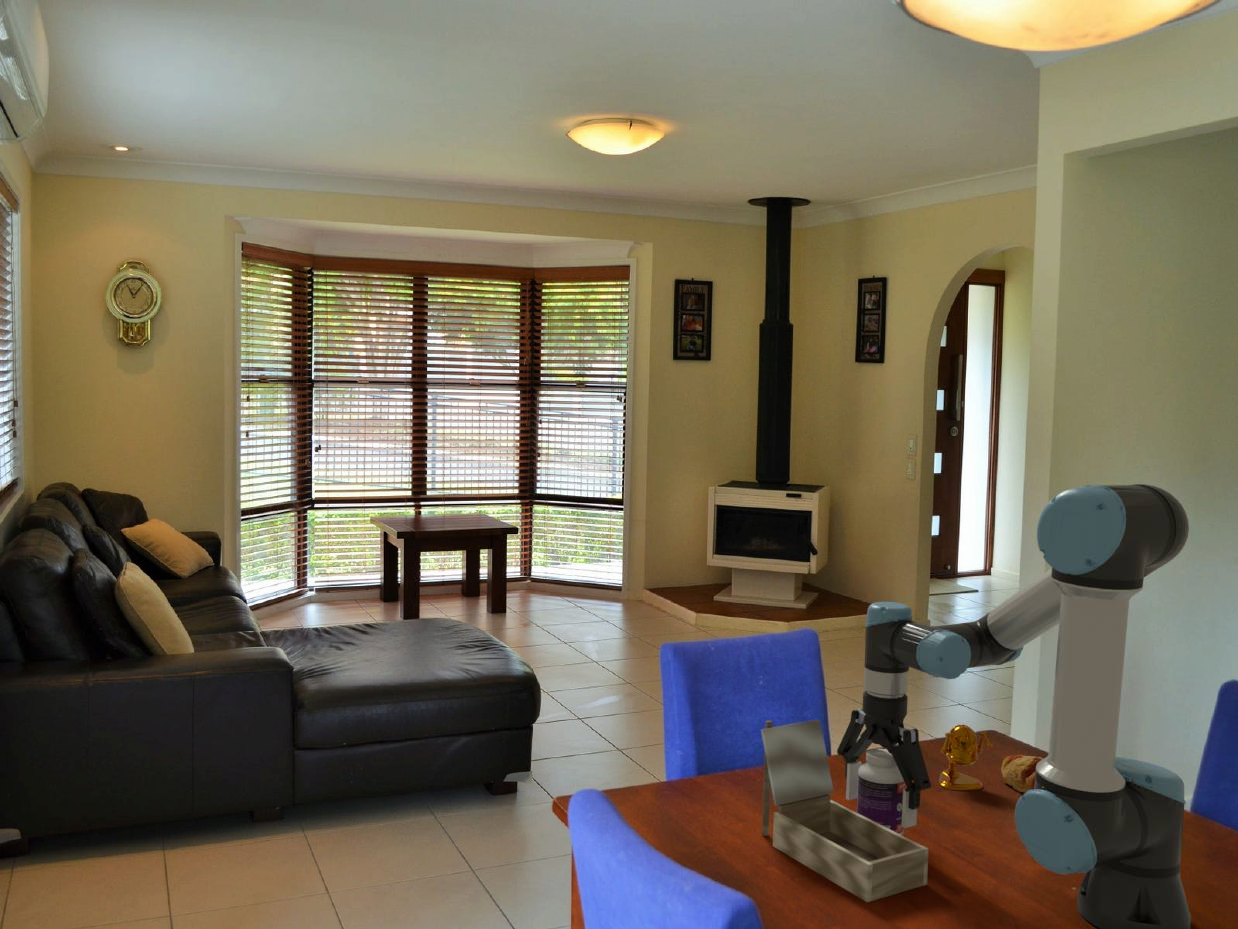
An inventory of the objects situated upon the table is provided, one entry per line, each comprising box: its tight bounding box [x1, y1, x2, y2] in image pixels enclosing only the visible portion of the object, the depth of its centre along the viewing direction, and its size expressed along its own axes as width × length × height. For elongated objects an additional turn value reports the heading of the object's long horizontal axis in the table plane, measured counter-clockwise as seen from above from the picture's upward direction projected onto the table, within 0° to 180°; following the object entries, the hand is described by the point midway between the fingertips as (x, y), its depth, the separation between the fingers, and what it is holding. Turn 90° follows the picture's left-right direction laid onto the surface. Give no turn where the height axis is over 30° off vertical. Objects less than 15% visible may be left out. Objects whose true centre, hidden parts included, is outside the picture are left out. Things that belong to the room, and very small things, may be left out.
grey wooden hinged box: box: [760, 718, 929, 903], centre depth 177 cm, size 28×13×20 cm, turn 31°
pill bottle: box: [856, 748, 906, 836], centre depth 187 cm, size 8×8×14 cm
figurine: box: [938, 724, 994, 792], centre depth 213 cm, size 9×11×12 cm
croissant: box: [1000, 754, 1044, 794], centre depth 212 cm, size 21×10×8 cm, turn 7°
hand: (880, 812), depth 187 cm, fingers open, 13 cm apart
